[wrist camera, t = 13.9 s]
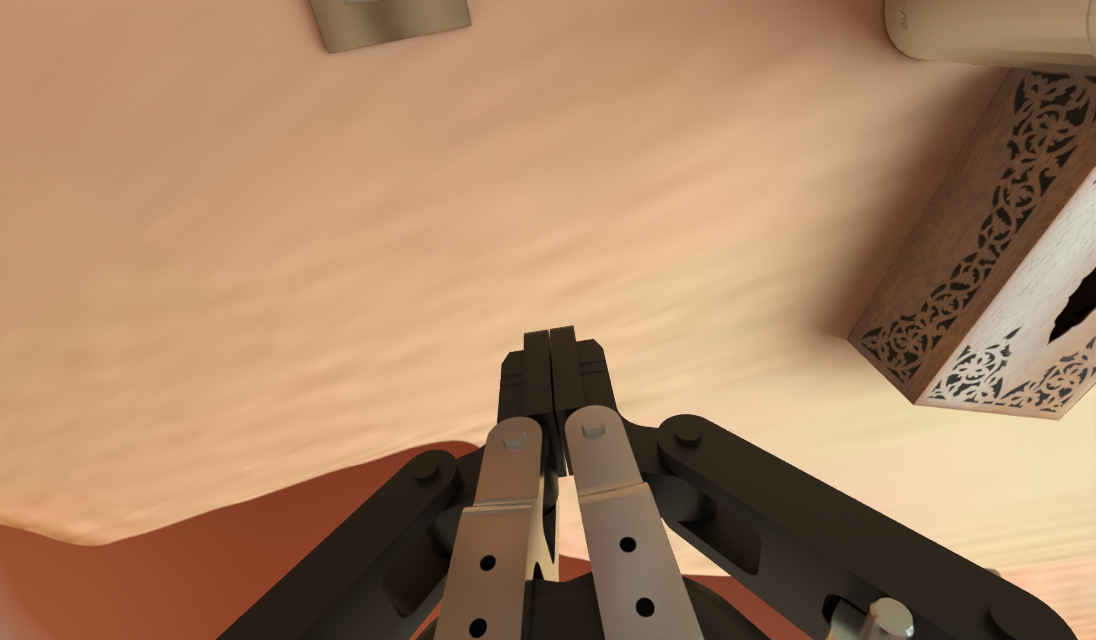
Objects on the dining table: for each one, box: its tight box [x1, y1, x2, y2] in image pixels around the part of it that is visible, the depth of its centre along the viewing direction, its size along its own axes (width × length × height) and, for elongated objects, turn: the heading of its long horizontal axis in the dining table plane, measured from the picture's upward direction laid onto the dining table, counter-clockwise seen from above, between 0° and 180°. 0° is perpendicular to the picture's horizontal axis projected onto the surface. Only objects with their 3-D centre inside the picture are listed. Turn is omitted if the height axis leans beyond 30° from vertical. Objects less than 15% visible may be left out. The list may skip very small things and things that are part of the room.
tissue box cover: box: [847, 68, 1096, 421], centre depth 38 cm, size 26×14×10 cm, turn 171°
